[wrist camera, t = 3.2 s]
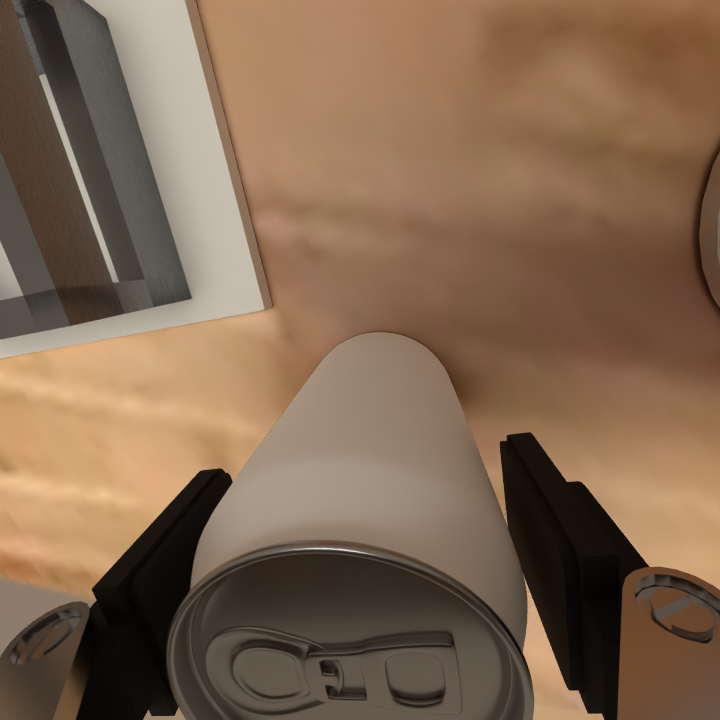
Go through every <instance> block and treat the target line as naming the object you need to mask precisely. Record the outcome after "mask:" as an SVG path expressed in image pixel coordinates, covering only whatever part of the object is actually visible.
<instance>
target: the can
mask: <svg viewBox="0 0 720 720" xmlns="http://www.w3.org/2000/svg"><path fill="white" fill-rule="evenodd" d="M526 626H527V592H526V586H525V581H524V577H523V573H522V569H521V565H520V561H519V558H518V555H517V553H516V550H515V547H514V544H513V541H512V538H511V535H510V532H509V529H508V527H507V524H506V521H505V519H504V516H503V513H502V511H501V508H500V505H499V503H498V500H497V498H496V495H495V492H494V490H493V487H492V485H491V482H490V479H489V477H488V474H487V471H486V469H485V466H484V464H483V461H482V459H481V456H480V453H479V451H478V448H477V446H476V443H475V441H474V438H473V435H472V433H471V430H470V428H469V425H468V423H467V420H466V418H465V415H464V412H463V410H462V407H461V405H460V402H459V400H458V397H457V395H456V392H455V390H454V387H453V385H452V383H451V380H450V378H449V376H448V374H447V372H446V370H445V368H444V367H443V365H442V364H441V362H440V361H439V360H438V358H437V357H436V356H435V355H434V354H433V353H432V352H431V351H430V350H429V349H427V348H426V347H425V346H423V345H422V344H420V343H419V342H417V341H415V340H413V339H411V338H408V337H406V336H403V335H399V334H394V333H387V332H373V333H366V334H362V335H358V336H355V337H352V338H350V339H348V340H346V341H344V342H342V343H341V344H339V345H338V346H336V347H335V348H334V349H333V350H332V351H330V352H329V353H328V354H327V355H326V357H325V358H324V359H323V360H322V361H321V363H320V364H319V365H318V367H317V368H316V369H315V370H314V372H313V373H312V374H311V376H310V377H309V378H308V380H307V381H306V382H305V384H304V385H303V387H302V388H301V389H300V391H299V392H298V393H297V395H296V396H295V397H294V399H293V400H292V401H291V403H290V404H289V406H288V407H287V408H286V410H285V411H284V412H283V414H282V415H281V417H280V418H279V419H278V421H277V422H276V423H275V425H274V426H273V427H272V429H271V430H270V432H269V433H268V434H267V436H266V437H265V438H264V440H263V441H262V443H261V444H260V445H259V447H258V448H257V450H256V451H255V452H254V454H253V455H252V456H251V458H250V459H249V461H248V462H247V463H246V465H245V466H244V468H243V469H242V470H241V472H240V473H239V475H238V476H237V477H236V479H235V480H234V482H233V483H232V484H231V486H230V487H229V489H228V490H227V492H226V493H225V495H224V496H223V498H222V499H221V501H220V502H219V504H218V505H217V507H216V508H215V510H214V512H213V513H212V515H211V517H210V519H209V521H208V522H207V524H206V526H205V528H204V530H203V532H202V535H201V537H200V540H199V543H198V546H197V550H196V554H195V558H194V563H193V569H192V577H191V586H190V591H189V592H188V594H187V595H186V596H185V598H184V599H183V601H182V602H181V604H180V605H179V607H178V609H177V611H176V613H175V615H174V617H173V619H172V622H171V625H170V628H169V631H168V635H167V641H166V650H165V661H166V671H167V676H168V680H169V684H170V688H171V691H172V693H173V696H174V698H175V701H176V703H177V705H178V707H179V708H180V710H181V712H182V714H183V715H184V717H185V719H186V720H533V712H534V692H533V684H532V679H531V675H530V671H529V668H528V665H527V662H526V660H525V657H524V655H523V653H522V652H523V647H524V641H525V634H526Z"/></svg>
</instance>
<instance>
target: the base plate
mask: <svg viewBox="0 0 720 720" xmlns="http://www.w3.org/2000/svg"><path fill="white" fill-rule="evenodd" d="M84 1H85V2H86V3H88V4H89V5H90V6H91V7H93V8H94V9H95V10H96V11H98V12H99V13H100V14H101V15H103V16H104V17H105V18H106V20H107V23H108V26H109V30H110V33H111V36H112V39H113V43H114V46H115V49H116V52H117V56H118V59H119V62H120V65H121V69H122V72H123V75H124V78H125V82H126V85H127V88H128V91H129V95H130V98H131V101H132V104H133V108H134V111H135V114H136V117H137V121H138V124H139V127H140V131H141V134H142V137H143V140H144V144H145V147H146V150H147V153H148V157H149V160H150V163H151V166H152V170H153V173H154V176H155V179H156V183H157V186H158V189H159V192H160V196H161V199H162V202H163V205H164V209H165V212H166V215H167V218H168V222H169V225H170V228H171V231H172V235H173V238H174V241H175V245H176V248H177V251H178V254H179V258H180V261H181V264H182V267H183V271H184V274H185V277H186V280H187V284H188V287H189V290H190V293H191V297H192V299H190V300H185V301H181V302H176V303H172V304H167V305H163V306H158V307H154V308H149V309H145V310H140V311H136V312H131V313H127V314H122V315H118V316H113V317H109V318H104V319H100V320H95V321H91V322H87V323H82V324H78V325H73V326H68V327H63V328H58V329H53V330H48V331H42V332H37V333H32V334H27V335H22V336H17V337H11V338H6V339H1V340H0V358H6V357H11V356H17V355H22V354H28V353H33V352H39V351H44V350H49V349H55V348H60V347H66V346H71V345H77V344H82V343H88V342H93V341H98V340H104V339H109V338H115V337H120V336H126V335H131V334H137V333H142V332H147V331H153V330H158V329H164V328H169V327H175V326H180V325H186V324H191V323H196V322H202V321H207V320H213V319H218V318H224V317H229V316H234V315H240V314H245V313H251V312H256V311H262V310H266V309H268V308H270V307H273V306H272V302H271V298H270V294H269V290H268V286H267V282H266V278H265V274H264V270H263V266H262V262H261V258H260V254H259V250H258V246H257V242H256V238H255V234H254V230H253V226H252V222H251V218H250V214H249V211H248V207H247V203H246V199H245V195H244V191H243V187H242V183H241V179H240V175H239V171H238V167H237V163H236V159H235V155H234V151H233V147H232V143H231V139H230V135H229V131H228V127H227V123H226V119H225V115H224V111H223V107H222V103H221V99H220V95H219V91H218V87H217V83H216V79H215V75H214V71H213V68H212V64H211V60H210V56H209V52H208V48H207V44H206V40H205V36H204V32H203V28H202V24H201V20H200V16H199V12H198V8H197V4H196V0H84ZM39 78H40V81H41V83H42V86H43V89H44V92H45V94H46V97H47V100H48V103H49V106H50V108H51V111H52V114H53V117H54V120H55V122H56V125H57V128H58V131H59V133H60V136H61V139H62V142H63V145H64V147H65V150H66V153H67V156H68V159H69V161H70V164H71V167H72V170H73V173H74V175H75V178H76V181H77V184H78V186H79V189H80V192H81V195H82V198H83V200H84V203H85V206H86V209H87V212H88V214H89V217H90V220H91V223H92V225H93V228H94V231H95V234H96V237H97V239H98V242H99V245H100V248H101V251H102V253H103V256H104V259H105V262H106V265H107V267H108V270H109V273H110V276H111V278H112V281H113V283H114V282H119V280H118V278H117V275H116V272H115V269H114V266H113V263H112V261H111V258H110V255H109V252H108V249H107V247H106V244H105V241H104V238H103V235H102V232H101V230H100V227H99V224H98V221H97V218H96V215H95V213H94V210H93V207H92V204H91V201H90V199H89V196H88V193H87V190H86V187H85V184H84V182H83V179H82V176H81V173H80V170H79V167H78V165H77V162H76V159H75V156H74V153H73V151H72V148H71V145H70V142H69V139H68V136H67V134H66V131H65V128H64V125H63V122H62V120H61V117H60V114H59V111H58V108H57V105H56V103H55V100H54V97H53V94H52V91H51V88H50V86H49V83H48V80H47V77H46V74H43V75H40V76H39ZM19 296H23V293H22V291H21V289H20V286H19V284H18V282H17V279H16V277H15V275H14V272H13V270H12V268H11V265H10V263H9V260H8V258H7V256H6V253H5V251H4V249H3V246H2V244H1V242H0V300H5V299H10V298H14V297H19Z"/></svg>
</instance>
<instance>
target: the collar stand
mask: <svg viewBox="0 0 720 720" xmlns="http://www.w3.org/2000/svg"><path fill="white" fill-rule="evenodd" d="M43 74H46V77H47V80H48V83H49V86H50V88H51V91H52V94H53V97H54V100H55V103H56V105H57V108H58V111H59V114H60V117H61V120H62V122H63V125H64V128H65V131H66V134H67V136H68V139H69V142H70V145H71V148H72V151H73V153H74V156H75V159H76V162H77V165H78V167H79V170H80V173H81V176H82V179H83V182H84V184H85V187H86V190H87V193H88V196H89V199H90V201H91V204H92V207H93V210H94V213H95V215H96V218H97V221H98V224H99V227H100V230H101V232H102V235H103V238H104V241H105V244H106V247H107V249H108V252H109V255H110V258H111V261H112V263H113V266H114V269H115V272H116V275H117V278H118V280H119V282H114V283H113V281H112V278H111V276H110V273H109V270H108V267H107V265H106V262H105V259H104V256H103V253H102V251H101V248H100V245H99V242H98V239H97V237H96V234H95V231H94V228H93V225H92V223H91V220H90V217H89V214H88V212H87V209H86V206H85V203H84V200H83V198H82V195H81V192H80V189H79V186H78V184H77V181H76V178H75V175H74V173H73V170H72V167H71V164H70V161H69V159H68V156H67V153H66V150H65V147H64V145H63V142H62V139H61V136H60V133H59V131H58V128H57V125H56V122H55V120H54V117H53V114H52V111H51V108H50V106H49V103H48V100H47V97H46V94H45V92H44V89H43V86H42V83H41V81H40V78H39V76H40V75H43ZM0 242H1V244H2V246H3V249H4V251H5V253H6V256H7V258H8V260H9V263H10V265H11V268H12V270H13V272H14V275H15V277H16V279H17V282H18V284H19V286H20V289H21V291H22V293H23V296H19V297H14V298H10V299H5V300H0V340H1V339H6V338H11V337H17V336H22V335H27V334H32V333H37V332H42V331H48V330H53V329H58V328H63V327H68V326H73V325H78V324H82V323H87V322H91V321H95V320H100V319H104V318H109V317H113V316H118V315H122V314H127V313H131V312H136V311H140V310H145V309H149V308H154V307H158V306H163V305H167V304H172V303H176V302H181V301H185V300H190V299H192V297H191V293H190V290H189V287H188V284H187V280H186V277H185V274H184V271H183V267H182V264H181V261H180V258H179V254H178V251H177V248H176V245H175V241H174V238H173V235H172V231H171V228H170V225H169V222H168V218H167V215H166V212H165V209H164V205H163V202H162V199H161V196H160V192H159V189H158V186H157V183H156V179H155V176H154V173H153V170H152V166H151V163H150V160H149V157H148V153H147V150H146V147H145V144H144V140H143V137H142V134H141V131H140V127H139V124H138V121H137V117H136V114H135V111H134V108H133V104H132V101H131V98H130V95H129V91H128V88H127V85H126V82H125V78H124V75H123V72H122V69H121V65H120V62H119V59H118V56H117V52H116V49H115V46H114V43H113V39H112V36H111V33H110V30H109V26H108V23H107V20H106V18H105V17H104V16H103V15H101V14H100V13H99V12H98V11H96V10H95V9H94V8H93V7H91V6H90V5H89V4H88V3H86V2H85V1H84V0H0Z"/></svg>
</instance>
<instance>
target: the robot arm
mask: <svg viewBox="0 0 720 720" xmlns="http://www.w3.org/2000/svg"><path fill="white" fill-rule="evenodd" d="M699 242H700V251H701V260H702V269H703V272H704V274H705V277H706V280H707V283H708V286H709V289H710V291H711V294H712V297H713V298H714V300H715V301H716V303H717V304H718V306H719V307H720V152H719V154H718V156H717V158H716V160H715V162H714V164H713V167H712V171H711V174H710V178H709V181H708V185H707V188H706V191H705V195H704V198H703V202H702V211H701V221H700V231H699ZM500 453H501V463H502V473H503V483H504V493H505V502H506V512H507V522H508V529H509V532H510V535H511V538H512V541H513V544H514V547H515V550H516V553H517V555H518V558H519V561H520V565H521V569H522V572H523V574H524V577H525V580H526V582H527V585H528V587H529V590H530V593H531V595H532V598H533V600H534V603H535V606H536V608H537V611H538V614H539V616H540V619H541V621H542V624H543V627H544V629H545V632H546V634H547V637H548V640H549V642H550V645H551V647H552V650H553V653H554V655H555V658H556V661H557V663H558V666H559V668H560V671H561V674H562V676H563V679H564V681H565V684H566V686H567V688H568V689H569V690H579V693H580V695H581V698H582V700H583V703H584V705H585V708H586V710H587V713H588V714H599V713H602V715H603V717H604V720H720V590H719V589H717V588H716V587H715V586H713V585H711V584H709V583H707V582H705V581H704V580H702V579H700V578H698V577H696V576H693V575H691V574H688V573H685V572H682V571H679V570H675V569H670V568H664V567H649V566H648V564H647V563H646V562H645V561H644V559H643V558H642V557H641V556H640V554H639V553H638V552H637V551H636V549H635V548H634V547H633V546H632V544H631V543H630V542H629V540H628V539H627V538H626V537H625V535H624V534H623V533H622V532H621V530H620V529H619V528H618V527H617V525H616V524H615V523H614V522H613V520H612V519H611V518H610V517H609V515H608V514H607V513H606V511H605V510H604V509H603V508H602V506H601V505H600V504H599V503H598V501H597V500H596V499H595V498H594V496H593V495H592V494H591V493H590V491H589V490H588V489H587V487H586V486H585V485H584V484H583V483H582V482H579V481H575V482H567V481H566V480H565V479H564V477H563V476H562V475H561V473H560V472H559V470H558V469H557V468H556V466H555V465H554V463H553V462H552V461H551V459H550V458H549V457H548V455H547V454H546V452H545V451H544V450H543V448H542V447H541V446H540V444H539V443H538V441H537V440H536V439H535V437H534V436H533V435H532V433H531V432H529V433H520V434H511V435H507V441H500ZM232 483H233V482H232V479H231V476H230V475H229V474H228V473H225V471H224V470H223V469H221V468H219V469H211V470H203V471H200V472H199V473H198V474H197V475H196V476H195V477H194V478H193V479H192V480H191V481H190V482H189V484H188V485H187V486H186V487H185V488H184V489H183V490H182V491H181V492H180V493H179V494H178V496H177V497H176V498H175V499H174V500H173V501H172V502H171V503H170V504H169V505H168V506H167V508H166V509H165V510H164V511H163V512H162V513H161V514H160V515H159V516H158V517H157V518H156V519H155V521H154V522H153V523H152V524H151V525H150V526H149V527H148V528H147V529H146V530H145V531H144V533H143V534H142V535H141V536H140V537H139V538H138V539H137V540H136V541H135V542H134V543H133V545H132V546H131V547H130V548H129V549H128V550H127V551H126V552H125V553H124V554H123V555H122V557H121V558H120V559H119V560H118V561H117V562H116V563H115V564H114V565H113V566H112V567H111V569H110V570H109V571H108V572H107V573H106V574H105V575H104V576H103V577H102V578H101V579H100V581H99V582H98V583H97V584H96V585H95V586H94V587H93V588H92V591H93V593H94V595H95V597H96V600H97V601H96V602H95V603H94V604H93V605H92V606H91V608H89V606H88V604H87V603H84V602H81V601H80V602H71V603H68V604H65V605H62V606H59V607H57V608H55V609H53V610H51V611H49V612H47V613H45V614H44V615H42V616H41V617H39V618H38V619H36V620H35V621H33V622H32V623H31V624H30V625H28V626H27V627H26V628H25V629H23V631H21V632H20V633H19V634H18V635H17V636H16V637H15V638H14V639H13V640H12V641H11V642H10V643H9V645H8V646H7V648H6V649H5V651H4V652H3V653H2V655H1V657H0V720H143V718H144V716H145V715H146V713H147V711H148V709H149V711H150V713H151V715H152V716H174V715H175V713H176V711H177V709H178V705H177V703H176V701H175V698H174V696H173V693H172V691H171V688H170V684H169V680H168V676H167V671H166V661H165V650H166V641H167V635H168V631H169V628H170V625H171V622H172V619H173V617H174V615H175V613H176V611H177V609H178V607H179V605H180V604H181V602H182V601H183V599H184V598H185V596H186V595H187V594H188V592H189V591H190V586H191V577H192V569H193V563H194V558H195V554H196V550H197V546H198V543H199V540H200V537H201V535H202V532H203V530H204V528H205V526H206V524H207V522H208V521H209V519H210V517H211V515H212V513H213V512H214V510H215V508H216V507H217V505H218V504H219V502H220V501H221V499H222V498H223V496H224V495H225V493H226V492H227V490H228V489H229V487H230V486H231V484H232Z"/></svg>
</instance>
